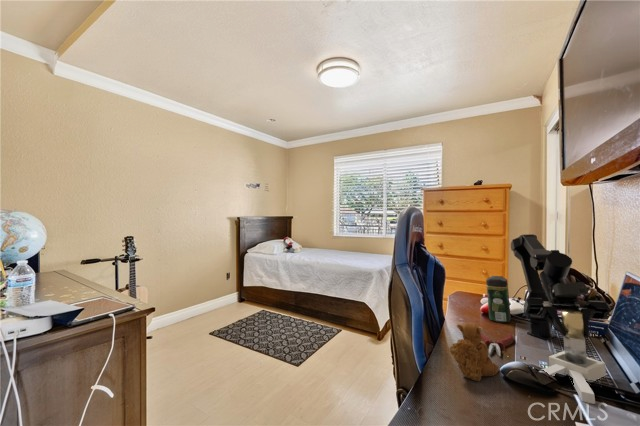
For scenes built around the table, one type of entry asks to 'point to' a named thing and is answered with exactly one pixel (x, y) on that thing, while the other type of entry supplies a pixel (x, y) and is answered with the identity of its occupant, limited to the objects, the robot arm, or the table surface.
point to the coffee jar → (498, 299)
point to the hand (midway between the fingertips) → (575, 336)
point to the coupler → (574, 336)
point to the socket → (577, 373)
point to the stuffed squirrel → (472, 353)
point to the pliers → (497, 343)
